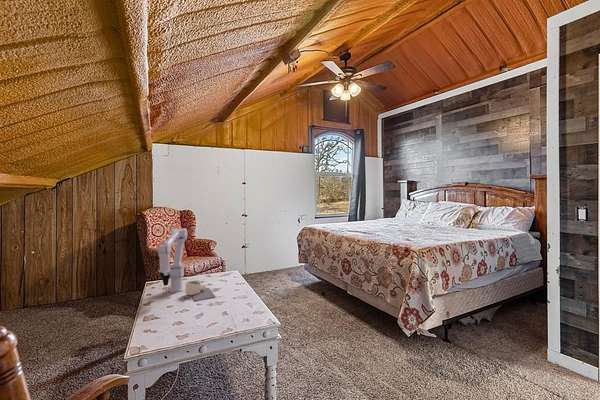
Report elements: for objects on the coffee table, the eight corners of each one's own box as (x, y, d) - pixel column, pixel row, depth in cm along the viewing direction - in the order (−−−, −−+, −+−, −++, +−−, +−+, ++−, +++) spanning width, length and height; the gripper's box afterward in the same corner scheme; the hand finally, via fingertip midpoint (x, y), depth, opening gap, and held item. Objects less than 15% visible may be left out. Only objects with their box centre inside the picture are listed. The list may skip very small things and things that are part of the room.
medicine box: (185, 282, 188) (201, 279, 198) (184, 292, 188) (200, 289, 197) (191, 284, 184) (207, 281, 193) (190, 295, 183) (206, 291, 193)
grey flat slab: (189, 291, 194) (189, 291, 193) (208, 288, 200) (208, 287, 200) (194, 301, 176) (194, 300, 176) (215, 297, 183) (215, 296, 183)
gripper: (156, 261, 184) (157, 281, 184) (158, 266, 171) (159, 288, 172) (168, 259, 187) (169, 279, 188) (170, 264, 175) (171, 286, 175)
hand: (165, 283), depth 180 cm, fingers open, 7 cm apart
